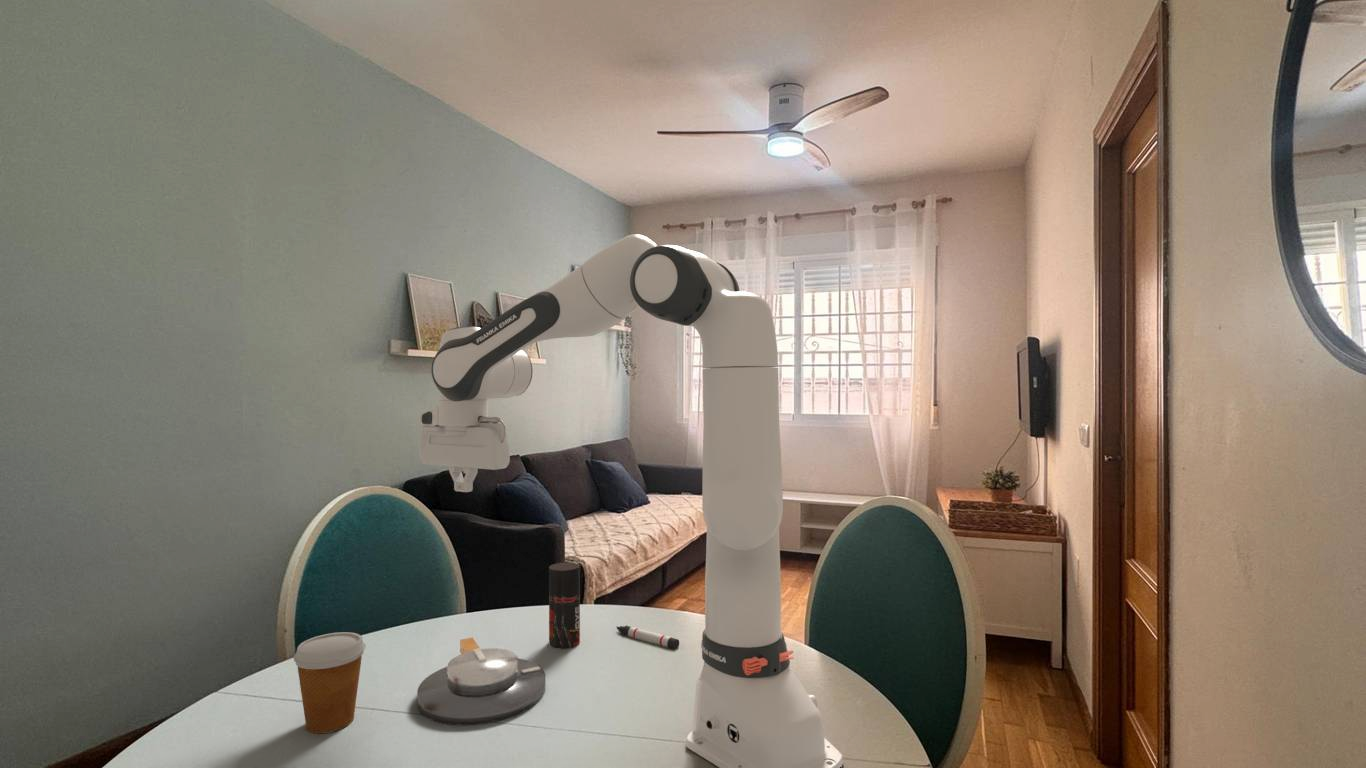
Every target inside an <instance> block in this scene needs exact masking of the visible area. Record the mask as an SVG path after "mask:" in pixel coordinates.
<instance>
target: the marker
mask: <svg viewBox="0 0 1366 768" xmlns="http://www.w3.org/2000/svg"><path fill="white" fill-rule="evenodd" d="M616 630H618V633H621V634H622V635H623V636H625V635H626V636H625V637H629V638H632V637H633V639H636V638H637V639H636V640H639V639H640V640H639V641H643V640H644V642H646V641H647V642H646V643H650V642H651V643H650V644H653V643H655V644H654V645H657V644H658V645H657V646H660V645H661V647H664V646H665V647H664V648H668V647H669V649H672V648H673V650H676V649H678V648H679V646H680V640H679V639H678V638H673V637H671V636H667V635H664V634H661V633H657V632H654V631H653V632H652V631H649V630H646V629H641V628H637V627H634V626H629V625H625V626H623V625H619V626H616ZM677 647H678V648H677ZM675 648H676V649H675Z"/></svg>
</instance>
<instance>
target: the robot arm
mask: <svg viewBox="0 0 1366 768" xmlns="http://www.w3.org/2000/svg"><path fill="white" fill-rule="evenodd" d="M639 308H641V309H642V310H643V311H645V312H646V314H649V315H651V316H652V317H654V318H656V319H658V320H662V321H665V322H670V323H674V324H678V325H680V326H684V327H686V326H687V327H693V328H694V329H695V330H696V331H697V333H698V334H699V338H700V340H701V348H702V400H703V401H702V404H703V405H702V407H703V408H702V409H703V414H702V415H703V418H702V419H703V420H702V421H703V425H702V427H703V430H702V433H703V435H702V436H703V437H702V492H701V493H702V499H701V500H702V502H701V503H702V505H701V506H702V507H701V508H702V516H703V520H704V522H705V525H706V544H705V546H706V548H705V551H706V552H705V573H704V574H705V575H704V593H705V594H704V608H705V609H704V623H705V624H704V625H705V628H704V630H703V631H702V638H701V643H700V644H701V646H700V649H701V657H702V660H703V661H704V662H703V667H702V670H701V673H700V675H699V678H698V680H697V681H696V682H697V683H696V687H695V695H694V706H693V707H694V708H693V709H694V710H693V717H692V718H693V720H692V729H691V731H690V732H689V733H688V734H687V736H686V739H685V746H686V748H687V749H689V750H690V751H692V752H694V753H695V754H697V755H699V756H700V757H702V758H703V759H705V760H707V761H708V762H710V763H711V764H713V765H715V766H716V767H718V768H840V767H841V768H842V766H843V764H844V759H843V758H844V757H843V754H842V753H841V752H840V751H839V750H838V749H837V748H836V747H835V746H834V745H833V744H832V743H831V742H830V741H829V740H828V739H827V738H826V737H825V732H824V723H823V719H822V715H821V713H820V711H819V709H818V701H817V699H816V696H815V695H814V694H810V693H809V694H808V693H807V691H806V689H805V688H804V686H803V685H802V683H801V682H800V681H799V679H798V677H797V676H796V674H795V673H794V672H793V669H792V668H791V666H790V665H791V664H790V663H791V662H790V661H791V660H793V659H795V658H794V656H790V655H792V654H793V653H794V650H788V646H787V642H786V639H785V637H784V633H783V632H782V592H781V591H782V575H781V574H782V573H781V572H782V571H781V551H780V550H781V549H780V525H781V524H782V523H781V522H782V519H783V512H784V503H783V502H784V496H783V473H782V472H783V471H782V467H783V466H782V449H781V428H780V394H779V390H780V389H779V387H780V386H779V383H780V382H779V357H778V355H779V354H778V344H777V343H778V342H777V336H776V335H777V334H776V328H775V323H774V319H773V314H772V310H771V307H770V305H769V304H768V302H767V301H766V300H765V298H763V297H762V296H759V295H758V294H754V293H753V292H749V291H748V292H747V291H740V287H739V283H738V280H737V279H736V276H735V275H734V274H733V273H732V272H731V271H730V269H728V267H726V266H725V265H723V264H722V263H719V262H717V261H714V260H713V259H711V258H710V257H708V256H707V255H705V254H704V253H701V252H697V251H695V250H692V249H687V248H685V247H682V246H679V245H674V244H661V245H657V244H656V242H654V241H653V240H652V239H650V238H649V237H648V236H645V235H642V234H638V233H636V234H635V233H634V234H629V235H626V236H625V237H623V238H620V239H618V240H616V241H615V242H612V243H611V244H609V245H607V246H605V247H604V248H602V249H601V250H599V251H598V252H596V253H595V254H594V255H592V256H591V257H590V258H588V259H587V260H585V261H584V262H583V263H582V264H580V265H579V266H578V267H576V268H575V269H574V270H573V271H571V272H570V273H568V274H567V275H565V276H564V277H562V278H561V279H559V280H558V281H556V282H555V283H553V284H551V285H550V286H548V287H546V288H544V289H543V290H540V291H539V292H537V293H535V294H534V295H532V296H529V297H528V298H526V299H524V300H522V301H520V302H519V303H517V304H515V305H514V306H512V307H510V308H509V309H508V310H505V312H503V313H502V314H500V315H498V317H495V318H494V319H493V320H491V321H490V322H488V323H487V324H485V325H483V326H482V327H479V326H468V325H467V326H458V327H453V328H450V329H447V330H446V331H445V332H443V334H442V335H441V338H440V342H439V348H438V350H437V352H436V354H435V356H434V358H433V360H432V364H431V377H432V380H433V382H434V385H435V386H436V388H437V390H438V391H439V394H438V396H437V406H436V405H435V406H434V407H432V408H430V409H428V410H425V411H424V412H421V413H419V416H418V424H419V425H420V426H421V428H420V430H419V433H418V457H419V460H420V462H421V463H422V464H423V465H434V466H446V467H449V474H450V476H451V479H452V481H453V487H454V488H453V490H454V491H455V492H462V493H469V492H473V489H474V485H473V484H474V481H475V479H476V476H477V475H478V469H480V470H492V471H495V470H501V469H502V470H503V469H506V468H508V466H509V464H510V461H511V460H510V459H511V458H510V446H509V439H508V434H507V426H506V424H505V423H504V421H503V420H502V419H501V418H500V417H498V416H492V417H491V416H489V400H490V399H492V400H493V399H508V398H514V397H519V396H521V395H522V394H524V393H525V392H526V390H527V389H528V388H529V387H530V385H531V382H532V379H533V372H534V371H533V365H532V361H531V358H530V356H529V355H528V353H527V352H526V350H524V349H525V348H526V347H529V346H531V345H533V344H535V343H538V342H543V341H548V340H553V339H554V340H555V339H563V338H564V339H565V338H582V337H585V338H586V337H592V336H595V335H599V334H600V333H603V332H605V331H607V330H609V329H611V328H613V327H614V326H616V325H618V324H619V323H621V322H622V321H623V320H624V319H626V318H628V317H629V316H630V315H631V314H632V313H634V312H635V311H636V310H639ZM463 474H465V475H464V476H463Z"/></svg>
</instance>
